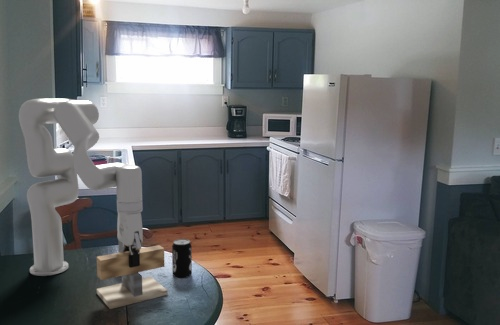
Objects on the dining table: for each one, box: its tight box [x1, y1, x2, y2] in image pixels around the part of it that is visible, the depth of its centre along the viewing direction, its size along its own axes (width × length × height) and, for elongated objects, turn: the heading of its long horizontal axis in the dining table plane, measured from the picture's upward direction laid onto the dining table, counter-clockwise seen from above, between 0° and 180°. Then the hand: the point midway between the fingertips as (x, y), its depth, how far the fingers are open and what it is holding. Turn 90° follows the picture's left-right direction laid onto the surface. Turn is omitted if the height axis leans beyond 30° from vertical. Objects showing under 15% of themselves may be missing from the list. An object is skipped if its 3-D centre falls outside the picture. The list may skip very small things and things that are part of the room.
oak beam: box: [96, 244, 166, 281], centre depth 142 cm, size 20×4×6 cm, turn 125°
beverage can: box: [171, 238, 193, 279], centre depth 159 cm, size 7×7×12 cm
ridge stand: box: [96, 272, 168, 310], centre depth 143 cm, size 13×18×8 cm
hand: (131, 263), depth 142 cm, fingers open, 4 cm apart
